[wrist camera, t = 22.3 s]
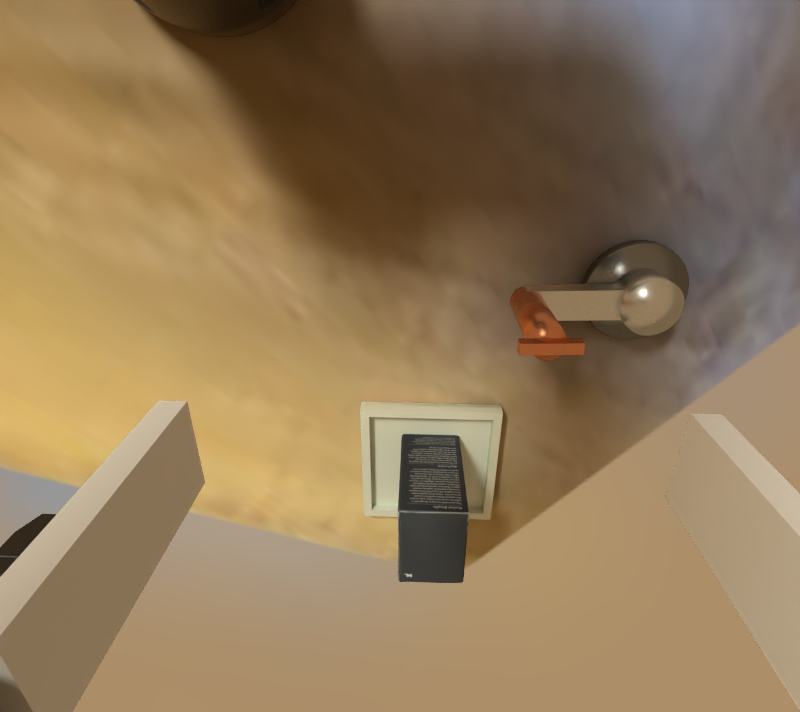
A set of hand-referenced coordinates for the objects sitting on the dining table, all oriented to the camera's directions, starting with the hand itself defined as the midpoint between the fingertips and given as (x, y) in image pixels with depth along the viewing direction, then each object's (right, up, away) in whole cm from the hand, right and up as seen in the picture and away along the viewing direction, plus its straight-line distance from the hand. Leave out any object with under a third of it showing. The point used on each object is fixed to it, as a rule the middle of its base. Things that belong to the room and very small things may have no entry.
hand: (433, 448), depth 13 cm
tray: (+2, -8, +36) cm, 37 cm away
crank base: (+18, +8, +27) cm, 34 cm away
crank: (+14, +7, +26) cm, 30 cm away
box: (+2, -8, +36) cm, 37 cm away
